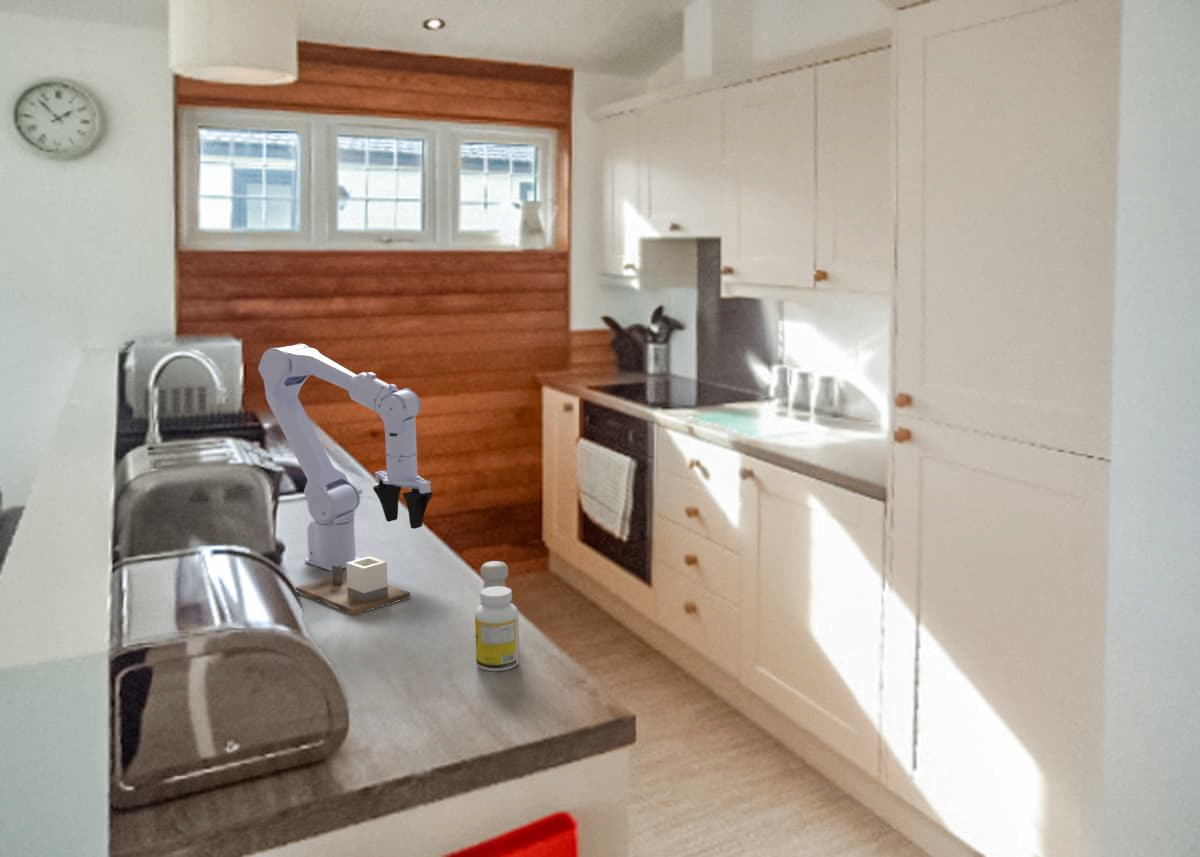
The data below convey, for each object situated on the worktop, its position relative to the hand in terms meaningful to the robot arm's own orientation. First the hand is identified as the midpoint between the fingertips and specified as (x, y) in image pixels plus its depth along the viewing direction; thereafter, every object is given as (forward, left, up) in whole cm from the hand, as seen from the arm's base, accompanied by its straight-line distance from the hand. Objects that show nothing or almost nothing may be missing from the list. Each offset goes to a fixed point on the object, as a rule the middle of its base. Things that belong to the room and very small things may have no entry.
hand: (403, 523), depth 205 cm
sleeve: (+9, -15, -8) cm, 19 cm away
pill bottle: (+47, -19, -10) cm, 52 cm away
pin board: (+4, -15, -9) cm, 18 cm away
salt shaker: (+40, -13, -10) cm, 43 cm away
